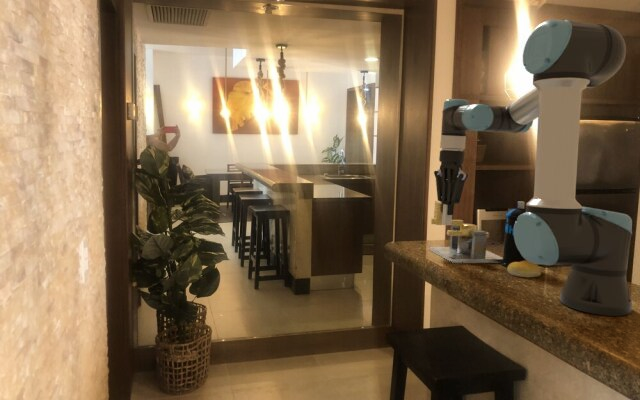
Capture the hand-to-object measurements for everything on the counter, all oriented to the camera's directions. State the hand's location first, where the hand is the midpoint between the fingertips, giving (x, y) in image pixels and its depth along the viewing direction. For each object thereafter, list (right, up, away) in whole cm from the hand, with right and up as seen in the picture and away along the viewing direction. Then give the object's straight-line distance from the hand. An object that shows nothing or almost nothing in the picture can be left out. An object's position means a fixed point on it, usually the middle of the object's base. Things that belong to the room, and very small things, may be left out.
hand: (446, 224), depth 168 cm
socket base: (+8, -11, +7) cm, 15 cm away
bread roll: (+19, -14, -13) cm, 27 cm away
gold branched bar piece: (+6, -4, +6) cm, 9 cm away
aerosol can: (+20, -13, -4) cm, 24 cm away
